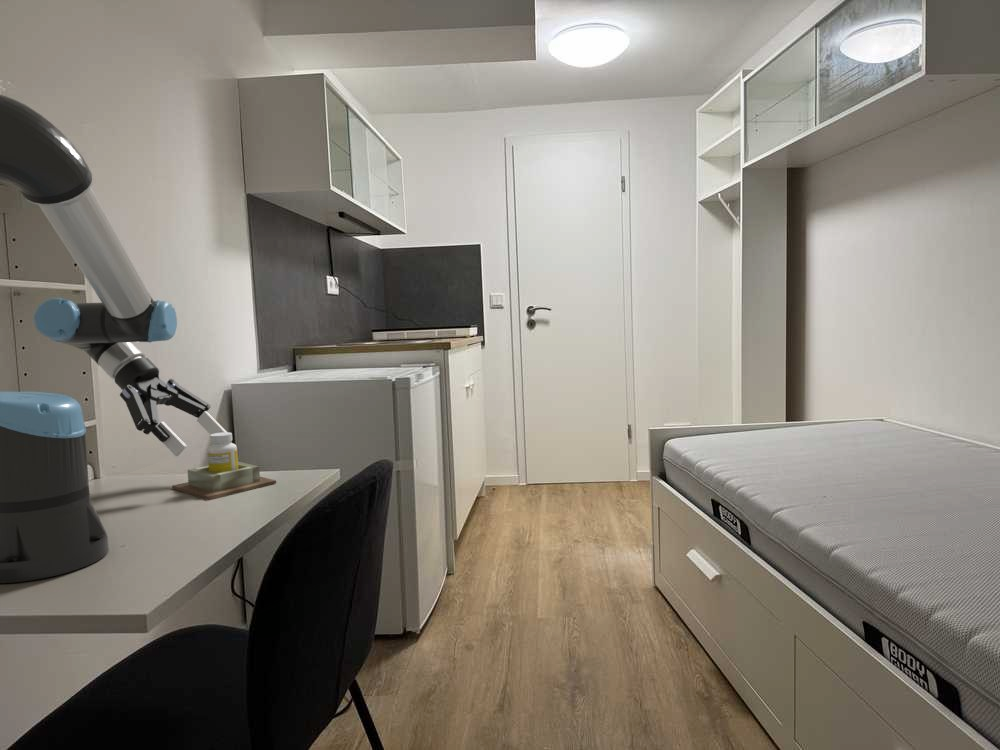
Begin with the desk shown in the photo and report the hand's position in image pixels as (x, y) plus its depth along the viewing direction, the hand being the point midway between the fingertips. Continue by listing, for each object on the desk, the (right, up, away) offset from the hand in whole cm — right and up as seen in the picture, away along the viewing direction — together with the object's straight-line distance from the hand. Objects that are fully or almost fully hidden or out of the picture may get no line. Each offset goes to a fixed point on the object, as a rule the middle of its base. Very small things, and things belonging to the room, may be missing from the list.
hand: (203, 444), depth 130 cm
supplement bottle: (+4, -8, 0) cm, 9 cm away
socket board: (+4, -8, -1) cm, 9 cm away
